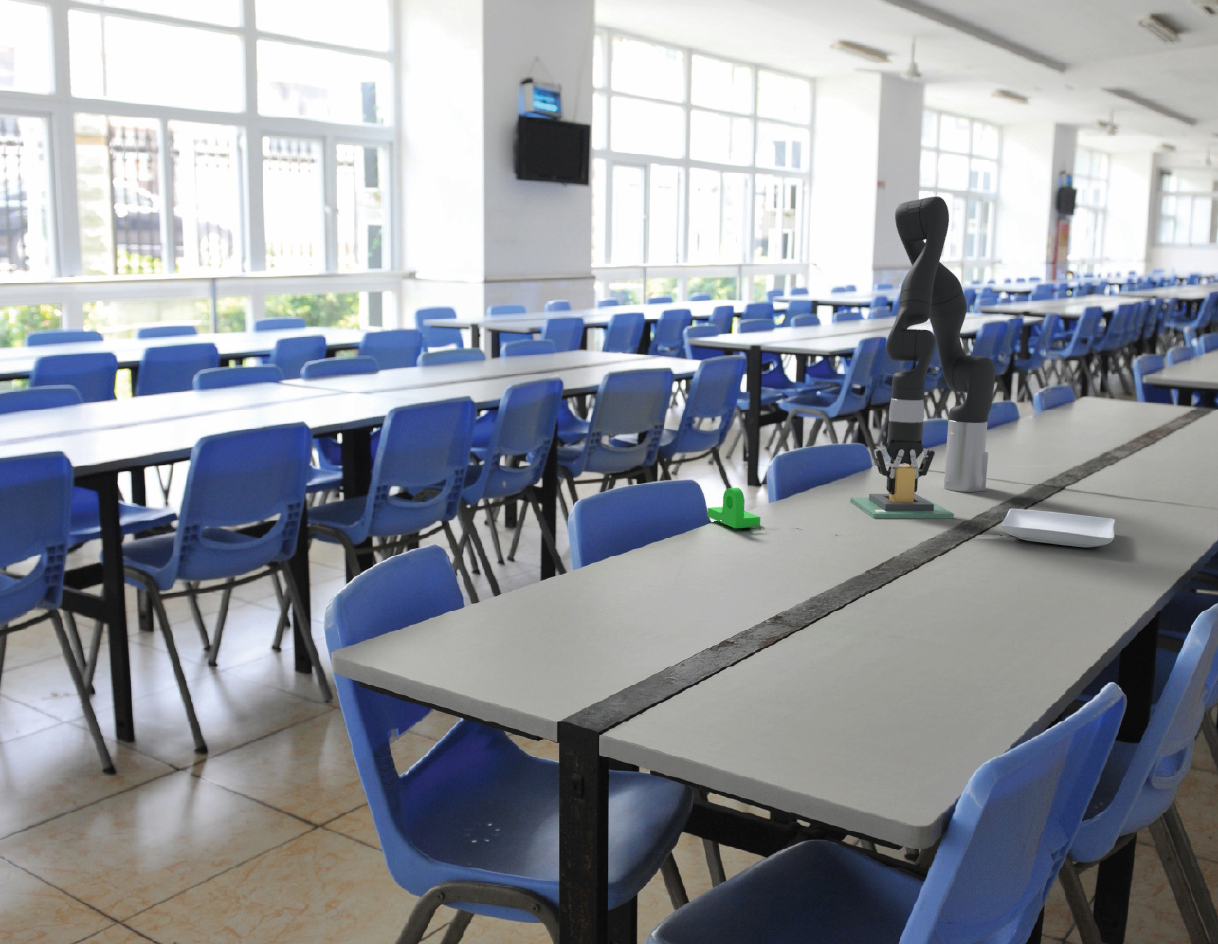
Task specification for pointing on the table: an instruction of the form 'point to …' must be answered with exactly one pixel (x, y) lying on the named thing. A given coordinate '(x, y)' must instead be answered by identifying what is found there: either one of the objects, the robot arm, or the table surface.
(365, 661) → the table surface
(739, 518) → the mechanical part
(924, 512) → the socket board
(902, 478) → the amber plug
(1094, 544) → the salad plate
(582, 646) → the table surface
